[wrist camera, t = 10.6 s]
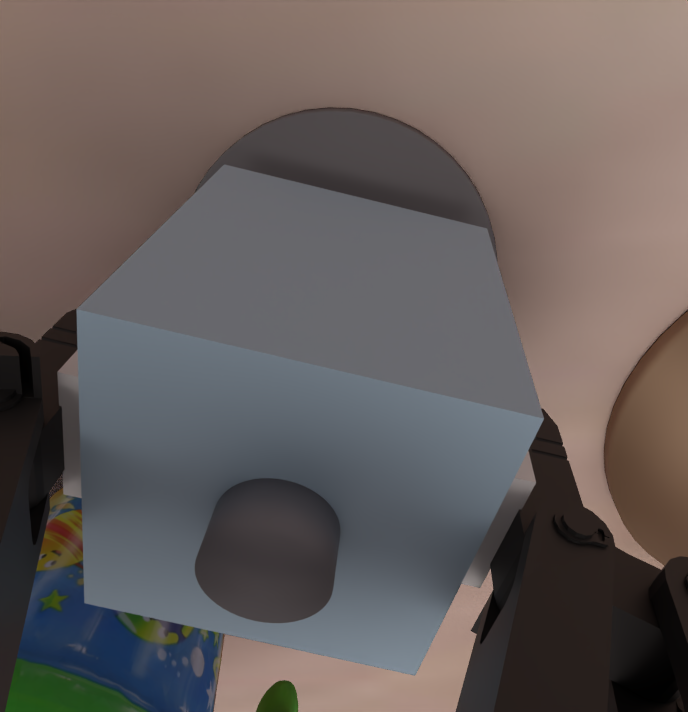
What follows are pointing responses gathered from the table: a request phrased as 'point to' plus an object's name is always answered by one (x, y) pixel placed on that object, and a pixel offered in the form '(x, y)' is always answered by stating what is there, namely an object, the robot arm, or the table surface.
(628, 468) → the post stand
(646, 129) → the table surface
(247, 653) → the table surface
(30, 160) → the table surface
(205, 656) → the snack cup
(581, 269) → the table surface
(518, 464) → the cube with round hole
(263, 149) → the coaster
